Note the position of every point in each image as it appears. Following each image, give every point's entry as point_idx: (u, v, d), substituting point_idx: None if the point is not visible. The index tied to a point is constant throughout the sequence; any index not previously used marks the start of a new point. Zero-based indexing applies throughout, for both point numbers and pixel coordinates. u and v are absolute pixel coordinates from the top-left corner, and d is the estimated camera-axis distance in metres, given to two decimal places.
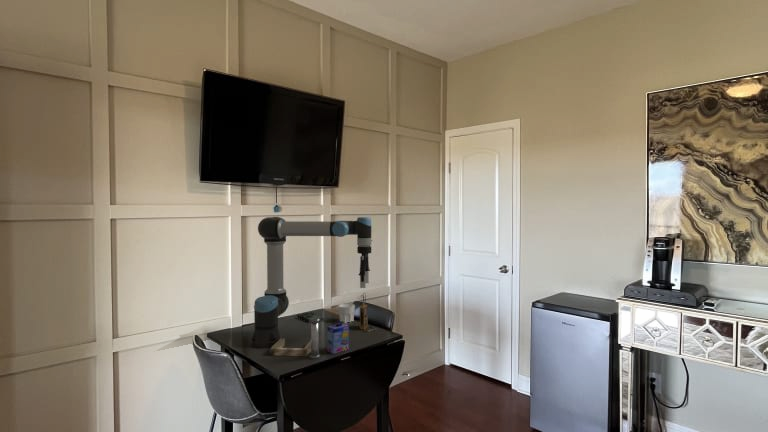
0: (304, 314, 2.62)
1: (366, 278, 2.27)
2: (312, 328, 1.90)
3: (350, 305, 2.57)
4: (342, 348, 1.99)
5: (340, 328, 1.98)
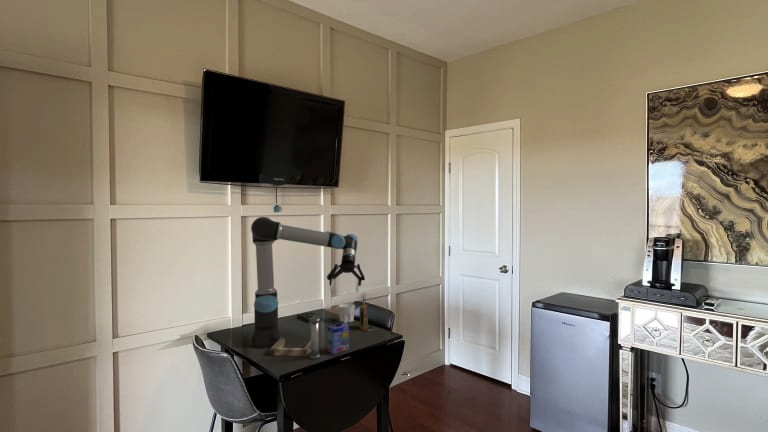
0: (304, 314, 2.62)
1: (332, 286, 2.17)
2: (312, 328, 1.90)
3: (350, 305, 2.57)
4: (342, 348, 1.99)
5: (340, 328, 1.98)
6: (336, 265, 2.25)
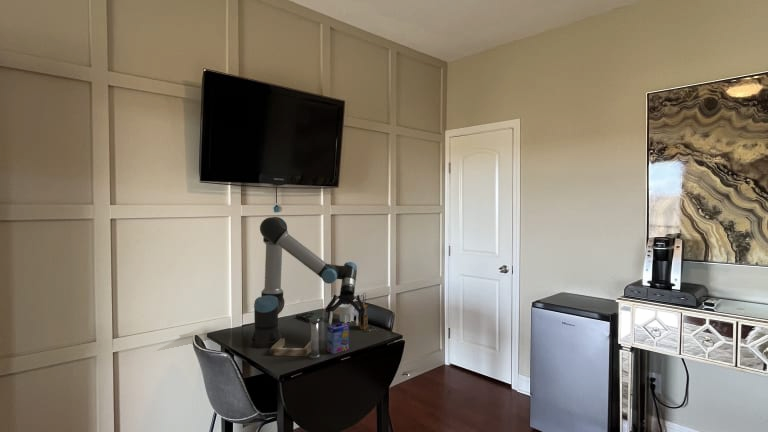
0: (303, 314, 2.61)
1: (331, 319, 2.08)
2: (312, 328, 1.90)
3: (350, 305, 2.57)
4: (342, 348, 1.99)
5: (340, 328, 1.98)
6: (335, 296, 2.16)
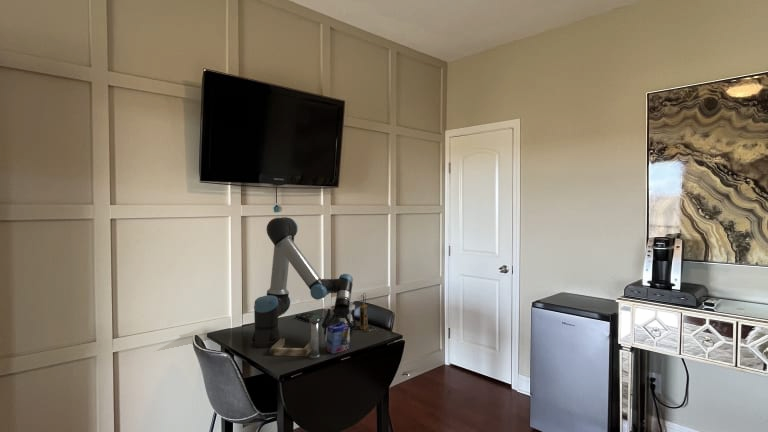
0: (303, 314, 2.61)
1: None
2: (312, 328, 1.90)
3: (350, 305, 2.57)
4: (342, 348, 1.99)
5: (340, 328, 1.98)
6: (329, 310, 2.08)
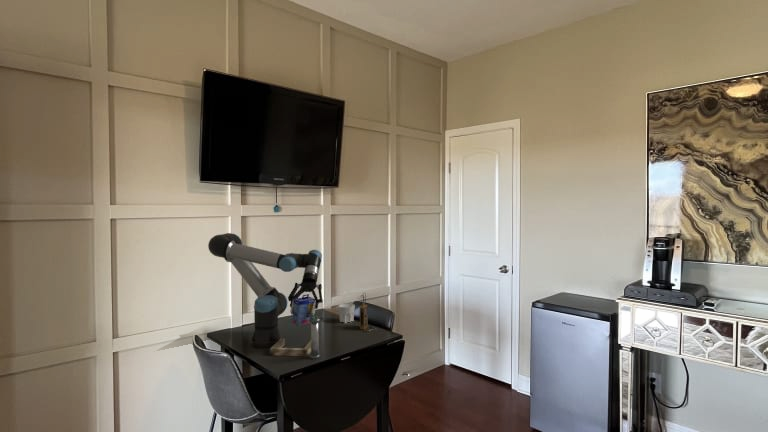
0: None
1: None
2: (312, 328, 1.90)
3: (350, 305, 2.57)
4: (307, 320, 2.04)
5: (306, 301, 2.02)
6: (296, 284, 2.12)
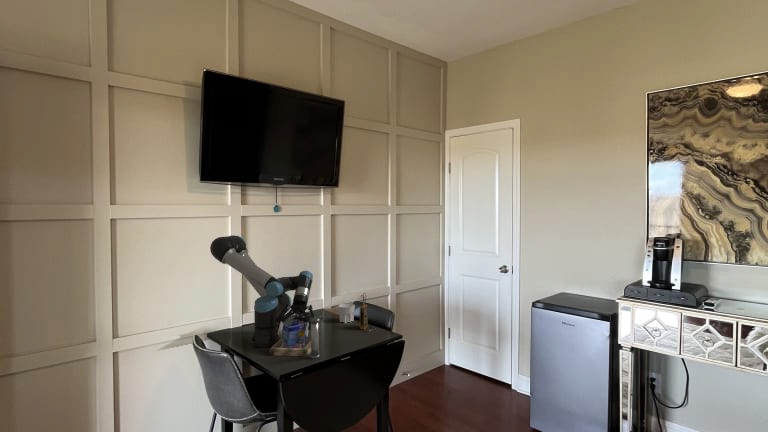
0: (301, 315, 2.60)
1: (281, 330, 2.02)
2: (312, 328, 1.90)
3: (350, 305, 2.57)
4: (298, 347, 2.01)
5: (296, 327, 2.00)
6: (287, 306, 2.10)
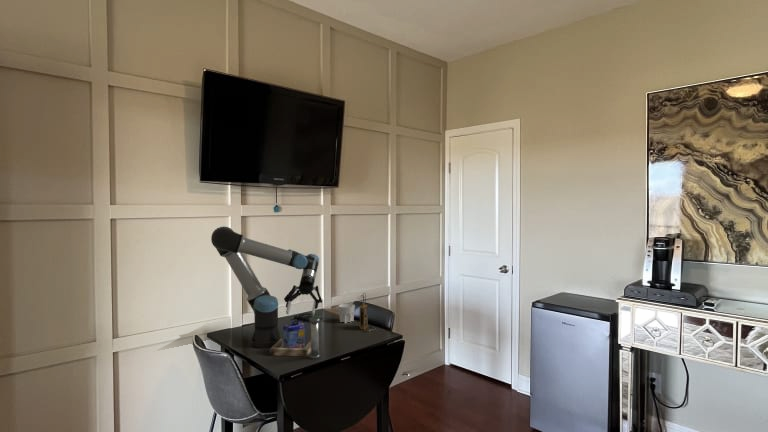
0: (301, 315, 2.60)
1: (289, 309, 2.15)
2: (312, 328, 1.90)
3: (350, 305, 2.57)
4: (298, 347, 2.01)
5: (296, 327, 2.00)
6: (294, 286, 2.22)
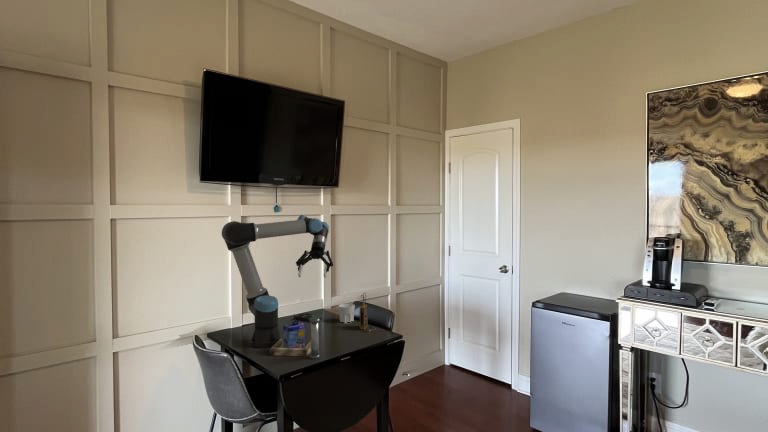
0: (300, 315, 2.60)
1: (301, 272, 2.20)
2: (312, 328, 1.90)
3: (350, 305, 2.57)
4: (298, 347, 2.01)
5: (296, 327, 2.00)
6: (306, 251, 2.27)
